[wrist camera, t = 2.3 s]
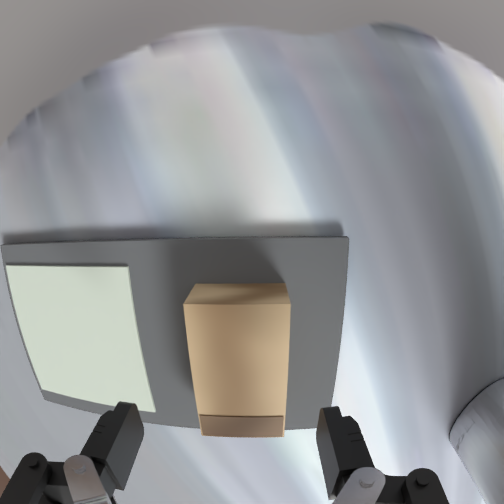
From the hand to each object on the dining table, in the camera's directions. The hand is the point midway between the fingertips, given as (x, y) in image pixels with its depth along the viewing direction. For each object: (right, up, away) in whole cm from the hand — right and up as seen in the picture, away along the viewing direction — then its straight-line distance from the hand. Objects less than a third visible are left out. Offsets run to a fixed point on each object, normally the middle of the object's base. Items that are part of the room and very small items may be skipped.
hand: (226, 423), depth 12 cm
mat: (-6, +1, +7) cm, 9 cm away
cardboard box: (0, +1, +6) cm, 7 cm away
